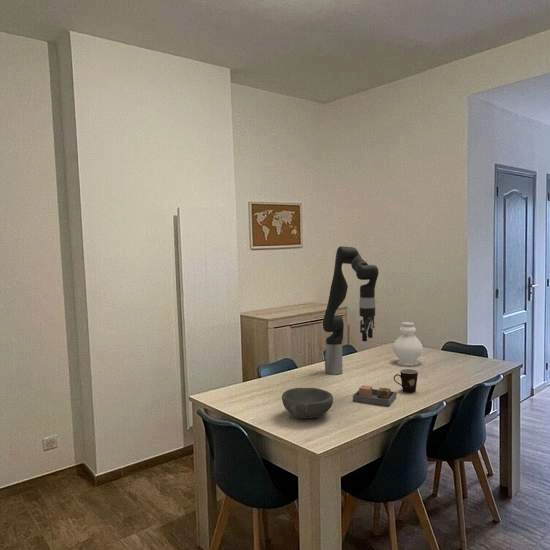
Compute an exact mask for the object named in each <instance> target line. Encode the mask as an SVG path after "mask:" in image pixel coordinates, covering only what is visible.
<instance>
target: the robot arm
mask: <svg viewBox="0 0 550 550" xmlns="http://www.w3.org/2000/svg"><path fill="white" fill-rule="evenodd" d="M334 262H335V263H334V271H333V276H332V280H331V285H330V289H329V290H330V291H329V294H328V295H329V296H328V300H327V301H328V302H327V305H326V309H325V312H324V316H323V319H322V328H323V331H324V332H326V333H332V334H330V335H329V336H328V337H326V339H325V350H326V351H325V352H326V353H325V356H324V369H325V370H324V372H325V374H328V375H341V374H343V370H344V369H343V340H344V327H345V326H344V319H343V317H342V316H341V315H339V314H336V312H337V310H338V309H339V308H340V306H341V305H342V304H343V303H344V301H345V299H346V297H347V294H348V289H349V286H348V282H347V280H346V277H345V276H344V273H343V270H342V269H343V267H342V266H343V264H346V265H347V264H348V265H350V266H351V268H352V269H353V271H354V272H355V274H356V278H357V279H358V280H361V281H368V282H367V283H366V284H361V285H360V286H359V308H358V311H359V316H360V317H361V318H362V320H360V323H359V324H360V325H359V326H360V327H359V328H360V329H359V332H360V334H361V338H362V339H361V341H362V342H368V339H372V338H373V336H374V335H373V333H374V332H373V331H374V329H375V316H376V298H375V297H376V295H375V293H376V284H377V280H378V277H379V268H378V266H377V265H374V264H369V263H368V262H367V261H365V260H364V259H363V258H362V256H361V254H360V253H359V250H358V249H356V248H355V247H354V246H353V247H352V246H338V248H337V249H336V253H335V260H334Z"/></svg>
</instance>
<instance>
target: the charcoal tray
mask: <svg viewBox="0 0 550 550" xmlns="http://www.w3.org/2000/svg"><path fill="white" fill-rule="evenodd" d="M377 390H378V389H376V388H372V397H365V396H359V389H358V390H357V391H356V392H355V393H354V394H352V402H355V403H362V404H367V405H368V404H370V405H375V406H381V407H382V406H383V407H390V406H391V405H392V404H393V402H394V401H395V400H396V399H397V392H396V391H392V390H391V397H390V398H389V399H388V400H387V399H380V398H377Z"/></svg>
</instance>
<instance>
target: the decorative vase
mask: <svg viewBox="0 0 550 550" xmlns="http://www.w3.org/2000/svg"><path fill="white" fill-rule="evenodd" d="M401 325H402V326H400V328H399V331H400V333H401V335H399V336H398V337H397V338H396V340H395V341H394V343H393V345H392V351H393V353H394V354H395V356H396V357H397V358H398V359H399V360H398V361H397V362H396V363H397V364H398V365H400V366H406V367H413V366H417V365H419V362H418V361H417V360H418V359H419V358H420V357H421V356H422V355H423V351H424V348H423V344H422V342H421V341H420V339H419V338H418V337H417V336H416V335H414V333H415V332H416V331H417V330H416V327H415V326H414V325H415V323H414V322H413V321H402V322H401Z"/></svg>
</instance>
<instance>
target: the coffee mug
mask: <svg viewBox="0 0 550 550" xmlns="http://www.w3.org/2000/svg"><path fill="white" fill-rule="evenodd" d="M418 374H419V371H418V370H417V369H413V368H412V369H411V368H404V369H400V374H398V373H397V374H395V375H393V380H394V382H395V383H396V384H398V385H400V386H401V388H402V392H404V393H406V394H412V393H416V391H417V386H418V385H417V384H418V383H417V382H418V377H419V375H418ZM398 376H399V377H400V381H401V383H400V382H398V381H397V380H396V377H398Z"/></svg>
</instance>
